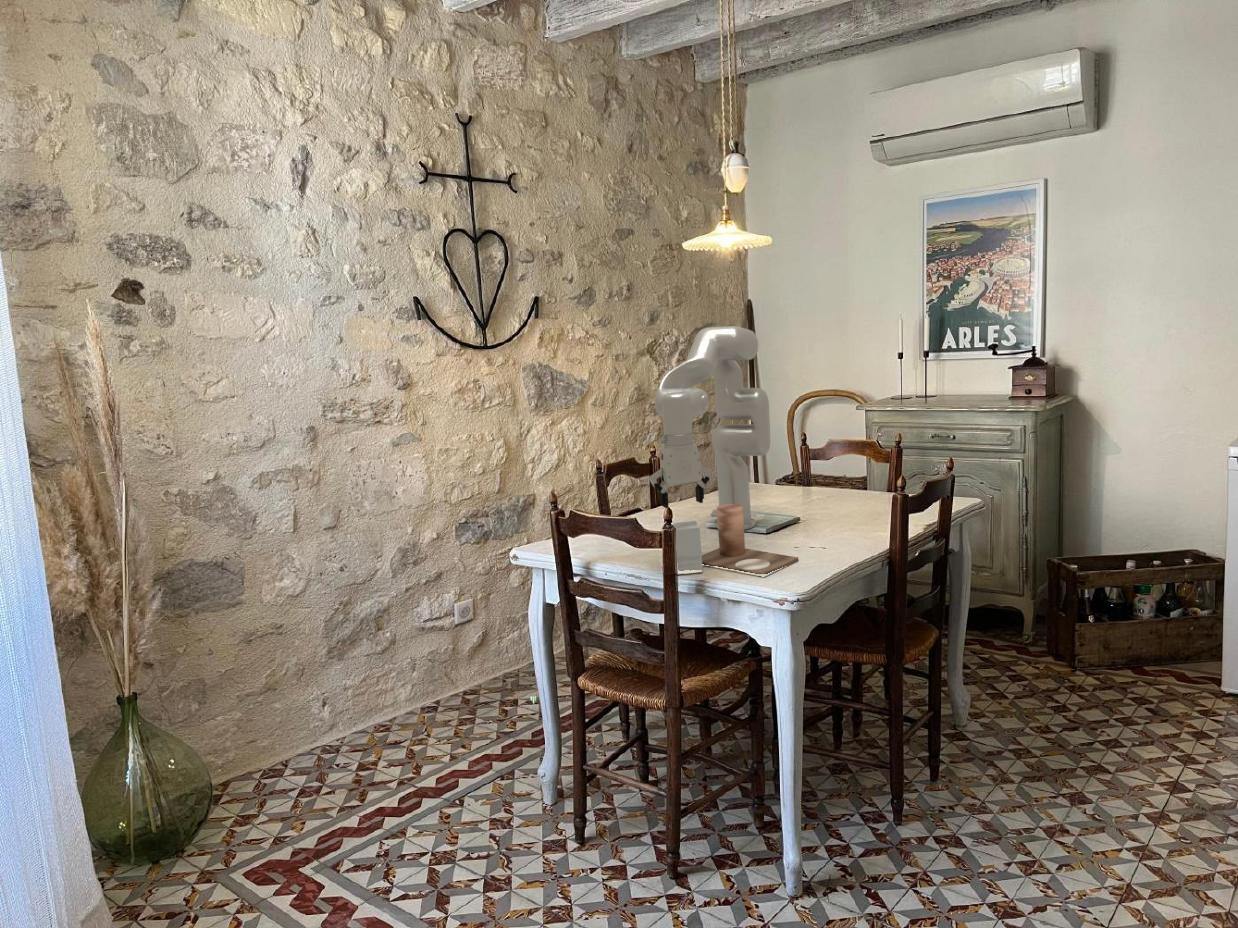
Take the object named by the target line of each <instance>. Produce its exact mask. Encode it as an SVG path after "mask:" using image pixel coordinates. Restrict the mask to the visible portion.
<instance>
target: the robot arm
mask: <svg viewBox="0 0 1238 928" xmlns="http://www.w3.org/2000/svg"><path fill="white" fill-rule="evenodd" d="M758 351H759V340H758V337H757V335H756V333H755V332H754V331H752V330H751V329H748V328H745V327H742V326H736V325H735V326H734V325H731V326H730V325H729V326H712V327H704V328H702V329H701V330H699V331H698V332H697V333H696V335H695V338H694V340H693V342H692V345H691V347H690V350H689V352H688V355H687V357H686V360H685V361H683V362H681V363H680V364H679V365H677V366H675V367H674V368H673V369H671V370H670V371H669V372H667V373H666V374H665V375H664V376H663V378H662V379H661V381H660V384H659V386H658V387H657V390H656V392H655V398H654V408H655V409H654V410H655V411H656V413H657V414H658V415H659V416H661V417H662V427H663V428H662V430H663V434H662V437H659V438H658V442H659V444H663V446H661V454H660V468H659V470H657V471H656V472H654V473H652V474H651V475H649V477H648V481H650V483H651V485H652V487H653V488H655V490H657V491H658V492H659V502H660V505H661V506H662V507H663V508H665V509H669V495H668V492H667V491H668V489H669V488H670V486H671V487H672V486H674V487H675V486H681V485H688V484H695V485H696V486H695V501H696V502H697V503H700V504H703V503H704V500H705V492H704V490H705V487H706V484H707V483H708V482H709V481H710V477H711V475H712V473H713V469H711V468H708V467H705V466H704V465H702V463H701V457H700V454H699V453H700V452H699V449H698V445H697V443H694V433H693V418H694V417H695V418H696V417H701V416H703V415H704V414H706V412H707V411H708V410H709V407H710V399H709V398H710V397H709V394H708V393H707V392H706V391H705V390H703V389H701V388H698V387H695V388H694V387H693V386H697V385H699V384H702V383H704V382H706V381H708V380H710V379H711V378H714V379H713V380H714V382H713V383H714V399H715V400H714V401H715V412H716V414H717V417H718V418H719V419H721V420H725V421H751V422H752V423H751V424H750V423H749V424H747V423H746V424H745V423H739V424H738V423H732V424H731V423H730V424H729V423H728V424H722V425H718V426H717V427H715V428H714V430H713V431H712V434H711V443H712V447H713V452H714V457H715V463H716V475H717V491H718V496H717V497H718V506H720V505H725V504H739V505H742V506H743V521H744V531H745V530H750V529H753V528H755V527H756V525H757V520H756V519H755V518H753V517H752V516H751V515H752V513H751V494H750V479H749V476H750V475H749V467H748V466H747V465H748V464H747V463H746V462H745V460H744V459H743V458H742V456H743V457H752V456H753V457H759V456H760V457H761V456H764V455H767V454H768V452H769V451H770V447H771V424H770V423H771V419H770V402H769V397H768V394H767V392H766V391H765V390H764V389H763V388H760V387H759V388H758V387H745V386H744V379H743V378H744V377H743V370H742V368H741V366H740V365H739V364H738V362H737V361H750V360H753V359H754V358H755V357H756V356H757V354H758ZM690 387H691V388H690ZM692 387H693V388H692ZM702 472H704V475H703V474H702ZM659 478H660V480H661V483H660V484H659V483H658V482H657V479H659ZM710 517H712V518H716V520H717V521H716V520H715V523H714V525H715V528H716V529H718V517H717V509H712V511H711V513H710Z"/></svg>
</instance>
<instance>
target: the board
mask: <svg viewBox="0 0 1238 928" xmlns="http://www.w3.org/2000/svg"><path fill="white" fill-rule="evenodd" d="M716 510H717V517H718V528H717V531H718V533H717V534H718V548H715V549H714V550H712V551H709V552H707V553H705V554H701V555H702V564H704V565H709V566H718V567H723V568H728V569H734V570H739V571H744V572H750V573H755V574H768V573H770V572H772V571H775V570H777V569H780V568H782V567H785V566H787V567H789V566H791V565H793V564H795V563H798V562H799V557H798V556H794V555H793V556H791V555H785V554H779V553H774V552H768V551H762V550H757V549H756V550H755V549H751V548H746V546H745V545H746V544H745V543H746V542H745V530H744V521H743V506H742V505H739V504H725V505H720V506H719V505H718V506H717V507H716ZM717 517H716V518H717ZM785 568H786V567H785Z"/></svg>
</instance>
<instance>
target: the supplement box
mask: <svg viewBox="0 0 1238 928" xmlns="http://www.w3.org/2000/svg"><path fill="white" fill-rule="evenodd" d="M672 523H673V526H674V527H675V528H676V551H677V563H678V570H679V571H684V570H690V571H691V570H703V566H702V555H703V554H702V545H701V529H700V526H699V524H698V523H697V521H696V520H690V521H689V520H687V521H681V522H680V521H679V522H672ZM703 571H704V570H703Z"/></svg>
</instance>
